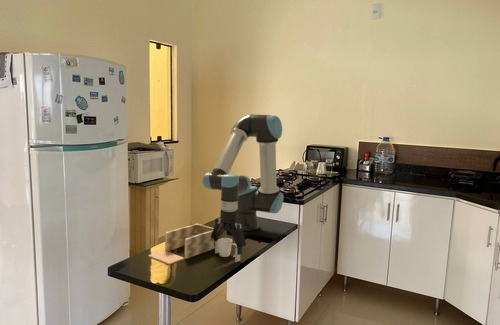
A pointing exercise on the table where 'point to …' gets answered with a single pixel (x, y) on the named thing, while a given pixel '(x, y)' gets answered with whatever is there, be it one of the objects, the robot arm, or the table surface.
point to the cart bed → (190, 239)
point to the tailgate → (166, 257)
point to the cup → (225, 246)
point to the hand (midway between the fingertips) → (227, 257)
